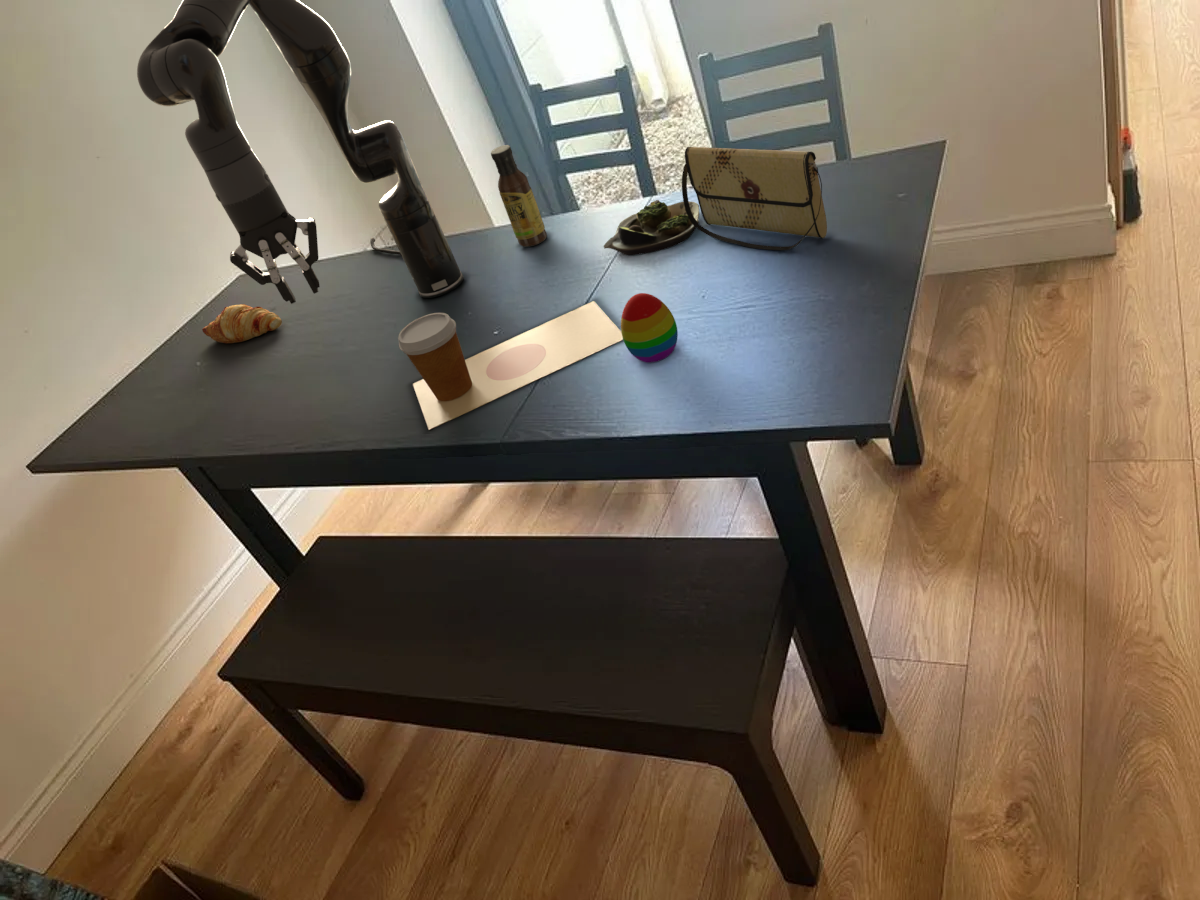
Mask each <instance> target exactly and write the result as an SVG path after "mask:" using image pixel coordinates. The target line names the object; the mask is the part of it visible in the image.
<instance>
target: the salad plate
mask: <svg viewBox="0 0 1200 900" xmlns="http://www.w3.org/2000/svg"><path fill="white" fill-rule="evenodd" d="M688 201H689V200H688ZM689 205H690V209H691V212H692V214H693V216H694V218H695V220H696V221H697V222H698V223H699V224H700V220H699V217H700V206H699V203H698V202H695V201H689ZM696 230H697V228H696V227H695V226H694V225H693V224H692V223H691V221H690V219H689V217H688V215H687V213H686V210H685V206H684V202H683V201H680V202H676V203H673V204H669V205H667V204H666V203H665V201H663V202H662V201H661V200H659V199H655V200H653V201H651V202H650V203H649V204H648V205H645V206H644V207H643V208H642V209H640V210H639V211H638V212H636V213H633V214H631V215H630V216H628V217H626V218H624V219H623V220H621V221H620V222H619V224H618V226H617V227H616V230H615V234H614V235H613V236H612V237H610V238H609V239H608V240H607V241H606V242H605V243H604V245H603V248H604V249H610V250H614V251H617V252H618V253H620V254H622V255H624V256H625V255H626V256H639V255H643V254H644V255H645V254H649V253H650V254H651V253H655V252H660V251H664V250H667V249H670V248H673V247H675V246H678V245H680V244H682V243H684V242H686V241H687V240H689V238H691V236H693V234H694V233H695V231H696Z"/></svg>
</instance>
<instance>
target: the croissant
mask: <svg viewBox="0 0 1200 900" xmlns="http://www.w3.org/2000/svg"><path fill="white" fill-rule="evenodd" d="M282 323H283V320H282V319H281V317H280V316H279V315H277V314H276V313H275V312H272V311H269V309H266V308H263V307H261V306H255V307H252V306H250V305H247V304H245V303H241V304H240V303H239V304H233V305H229V306H225V307H224V308H223V309H222V311H221V312H220V314H218V315H217V316H216V317H215V319H214V320H213V321H211V322H209V323H208V325H206V326H203V328H202V329H201V330H202V333H203V334H204V335H205V336H206V337H209V338H211V340H213V341H215V342H217V343H223V344H234V343H243V342H245V341H248V340H251V339H254V338H255V337H259V336H262V335H264V334H267V332H271V331H275V330H277V329H279V327H281V326H282Z"/></svg>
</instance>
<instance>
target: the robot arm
mask: <svg viewBox="0 0 1200 900" xmlns="http://www.w3.org/2000/svg"><path fill="white" fill-rule="evenodd" d="M248 6H250V7H251V9H252V10H253V11H254V13H255V14H256V16H257V17H258V18H259V20H260V21H261V23H262V25H263V26H264V28H265V29H266V31H267V32H268V33H269V35H270V37H271V38H272V40H273V41H274V43H275V45H276V46H277V48H278V50H279V52H280V53H281V55H282V56H283V59H284V60H285V62H286V63H287V65H288V67H289V68H290V70H291V72H292V73H293V75H294V76H295V77H296V79H297V81H298V82H299V84H300V85H301V87H302V88H303V90H304V91H305V93H306V95H308V97H309V99H310V100H311V102H312V103H313V105H314V107H315V108H316V110H317V111H318V113H319V114H320V116H321V118H322V120H323V122H324V123H325V125H326V126H327V128H328V131H329V132H330V134H331V135H332V138H333V140H334V141H335V143H336V145H337V147H338V149H339V151H340V152H341V155H342V156H343V158H344V160H345V162H346V164H347V165H348V167H349V169H350V170H351V172H352V174H353V175H354V176H355V177H356V179H357V180H359V181H360V182H361V183H364V184H369V183H373V182H377V181H379V180H382V179H385V178H388V177H391V176H394V175H396V176H397V178H398V180H397V182H396V183H395V185H394V186H393V187H392V188H391V189H390V190H389V191H388V192H387V193H385V194H384V195H383V196H382V197H381V198H380V200H379V202H378V209H379V211H380V213H381V216H382V218H383V220H384V222H385V224H386V226H387V228H388V230H389V232H390V234H391V236H392V238H393V240H394V243H395V245H396V247H397V249H398V250H394V249H387V248H381V247H377V246H375V243H376V238H375V237H371V238H370V247H371V249H372V250H373V251H375V252H379V253H384V254H391V255H399V256H401V257H402V259H403V261H404V264H405V265H406V268H407V269H408V272H409V275H410V276H411V278H412V280H413V283H414V284H415V287H416V288H417V292H418V294H419V296H420V297H421V298H423V299H433V298H438V297H441V296H444V295H446V294H448V293H450V292H452V291H453V290H455V289H456V288H458V287H459V286H460V285H461V284H462V283H463V281H464V275H463V273H462V271H461V269H460V267H459V265H458V263H457V261H456V258H455V256H454V254H453V251H452V249H451V247H450V245H449V243H448V240H447V238H446V235H445V233H444V231H443V229H442V226H441V224H440V223H439V220H438V218H437V216H436V214H435V211H434V209H433V207H432V204H431V202H430V200H429V197H428V194H426V191H425V189H424V186H423V184H422V181H421V178H420V176H419V175H418V171H417V170H416V167H415V164H414V162H413V159H412V157H411V154H410V152H409V149H408V146H407V143H406V141H405V139H404V137H403V134H402V132H401V131H400V129H399V127H398V125H396V123H394V122H393V121H391V120H383V121H380V122H377V123H375V124H372V125H368V126H367V127H364V128H360V129H359V130H354V129H353V127H352V126H351V124H350V121H349V96H350V89H351V79H352V78H351V77H352V66H351V62H350V58H349V56H348V54H347V52H346V50H345V48H344V46H342V43H341V42H340V39H339V38H338V36H337V35H336V33H335V31H334V30H333V28H332V27H331V25H330V24H329V22H327V21H326V20H325V19H324V18H323V17H322V16H321V15H319V14H318V13H317V12H315V11H314V10H313V9H312V8H310V7H309V6H307V5H305V4H304V3H303V2H301V1H300V0H182V1H181V3H180V5H179V6H178V8H177V11H176V12H175V14H174V16H173V18H172V20H171V21H170V22H169V23H168V24H167V25H166V26H164V28H163V29H162V30H160V32H159V33H158V34H157V35H156V36H155V37H154V38H153V39H152V40H151V41H150V43H148V45H147V46H146V47H145V48H144V50H143V51H142V53H141V55H140V57H139V59H138V62H137V66H136V68H137V69H136V77H137V82H138V85H139V87H140V89H141V92H142V93H143V94H144V95H145V97H146V98H147V99H149V101H151V102H153V103H155V104H156V105H158V106H162V107H175V106H180V105H182V104H186V103H190V102H193V101H194V102H195V105H196V110H197V114H198V118H196V119H195V120H193V121H192V122H190V123H189V124H188V125H187V126H186V128H185V132H184V134H185V135H184V136H185V138H186V141H187V143H188V145H189V147H190V149H191V150H192V152H193V154H194V156H195V158H196V159H197V161H198V163H199V164H200V166H201V167H202V170H204V173H205V176H206V178H207V180H208V182H209V185H210V186H211V188H212V190H213V192H214V194H215V197H216V199H217V201H218V202H220V204H221V206H222V208H223V209H224V211H225V213H226V215H227V217H228V218H229V219H230V222H231V223H232V225H233V227H234V228H235V231H236V232H237V233H238V236H239V243H240V244H239V246H238V247H237V248H236V249H235V250H232V251H231V252H230V254H229V261H230V263H231V264H233V265H234V266H235V267H236V268H238V269H239V270H241V271H242V272H243V273H244V274H246V275H247V276H248V277H250V278H251V279H252V280H254V281H255V282H257V284H259V285H261V286H264V285H267V284H272V285H274V286H275V287H276V289H277V291H278V292H279V294H280V296H281V298H282V300H283V301H285V302H286V303H288V302H289V303H290V304H291V305H293V304H295V303H296V302H297V301H296V296H295V295H294V293H293V291H292V289H291V287H290V286H289V284H288V282H287V281H286V279H285V277H284V276H282V275H281V273H280V271H279V268H278V264H277V262H276V259H277V258H278V257H280V256H282V255H287V254H288V255H289V257H291V259H292V260H293V261H294V262H295V263H296V264H297V265H298V267H299V268H300V269H301V272H302V275H303V277H304V279H305V281H306V282H307V284H308V286H309V287H310V289H311V291H312V293H313V294H317V293H319V288H320V281H319V278H318V277H317V275H316V273H315V271H314V269H313V267H312V266H313V264H315V263H317V262H318V261H319V245H318V231H317V222H316V219H315V218H314V217H312V216H310V217H307V218H306V219H296V217H295V216H294V215H292V214H290V212H289V210H287V208H286V206H285V204H284V202H283V201H282V199H281V196H280V195H279V193H278V191H277V189H276V188H275V185H274V184H273V182H272V180H271V179H270V176H269V174H268V173H267V170H266V169H265V167H264V166H263V164H262V162H261V160H259V159H260V158H259V157H258V156H257V155H256V154H255V152H254V150H253V149H252V147H251V145H250V143H249V141H248V139H247V138H246V135H245V134H244V132H243V131H242V129H241V127H240V125H239V124H238V121H237V118H236V115H235V110H234V107H233V103H232V100H231V96H230V92H229V88H228V85H227V80H226V77H225V73H224V69H223V67H222V64H221V62H220V60H219V58H218V57H220V56H221V55H222V54H223V52H225V50H226V47H227V46H228V44H229V42H230V40H231V38H232V35H233V33H234V31H235V29H236V27H237V24H238V22H239V21H240V19H241V17H242V15H243V13H244V12H245V10H246V9H247V7H248ZM298 229H300V230H301V232H302V233H301V234H303V235H304V236H307V243H308V245H307V246H308V253H307V254H305V255H304V253H303V252H302V250H301V249H300V247H299V246H298V245H297V244H296V238H297V231H298ZM246 251H248V252H249V253H252V254H254V255H256V256H258V257H260V258H261V259H263V261H264V264H265V267H266V269H267V272H266V271H263V270H262V269H261V268H260V267H258V266H257V265H256V264H254V263H253V262H251V261H250V260H249V254H248V253H247V252H246Z"/></svg>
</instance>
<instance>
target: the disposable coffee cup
mask: <svg viewBox="0 0 1200 900" xmlns="http://www.w3.org/2000/svg"><path fill="white" fill-rule="evenodd" d="M397 339H398V349H400V351H401V352H403V353H404V354H405V355H406V356H407V357H408V359H409V360H410V361H411V363H412V364H413V366H414V367H415V369H416V370H417V372H418V373H419V375H420V376H421V378H422V379H424V381H425V382H426V383H427V385H428V386H429V388H430V389H431V391H432V392H433V394H434V395H435V396H436V398H437V399H438V400H439V401H450V400H453V399H456V398H458V397H460V396H462V395H464V394H465V393H466V392H467V391H468V390H469V389H470V388H471V386H472V381H471V378H470V375H469V371H468V368H467V365H466V362H465V360H466V359H465V356H464V353H463V349H462V346H461V343H460V340H459V337H458V334H457V323H456V321H455V320H454V319H453V318H451V316H449V314H447V312H446V313H445V312H434V313H429V314H425V315H423V316H419V317H418V318H416V319H414V320H413V321H411V322H408V324H407V325H405V326H404V327H403V328H402V329H401V330H400V332H399V334H398V337H397Z"/></svg>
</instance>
